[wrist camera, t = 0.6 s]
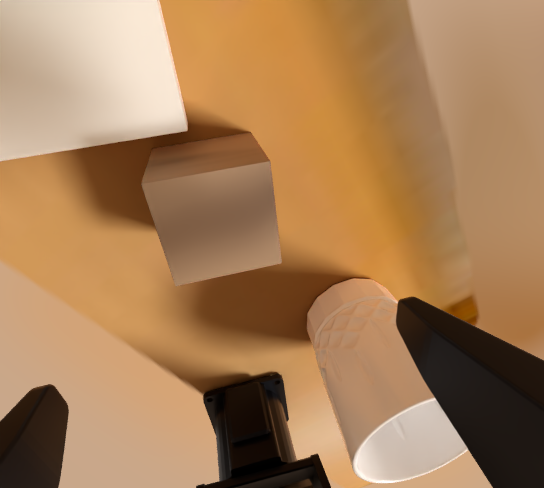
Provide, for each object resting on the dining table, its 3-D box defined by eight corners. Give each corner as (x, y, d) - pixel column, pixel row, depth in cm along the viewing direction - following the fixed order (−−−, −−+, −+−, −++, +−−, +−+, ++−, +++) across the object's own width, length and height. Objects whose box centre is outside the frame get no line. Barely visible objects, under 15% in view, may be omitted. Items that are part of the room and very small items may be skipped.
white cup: (405, 319, 28) (499, 439, 19) (320, 362, 28) (376, 498, 20) (380, 251, 23) (487, 369, 15) (280, 304, 24) (330, 446, 16)
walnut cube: (262, 216, 20) (281, 263, 16) (177, 233, 20) (175, 286, 15) (250, 131, 17) (270, 161, 13) (152, 147, 17) (140, 183, 13)
